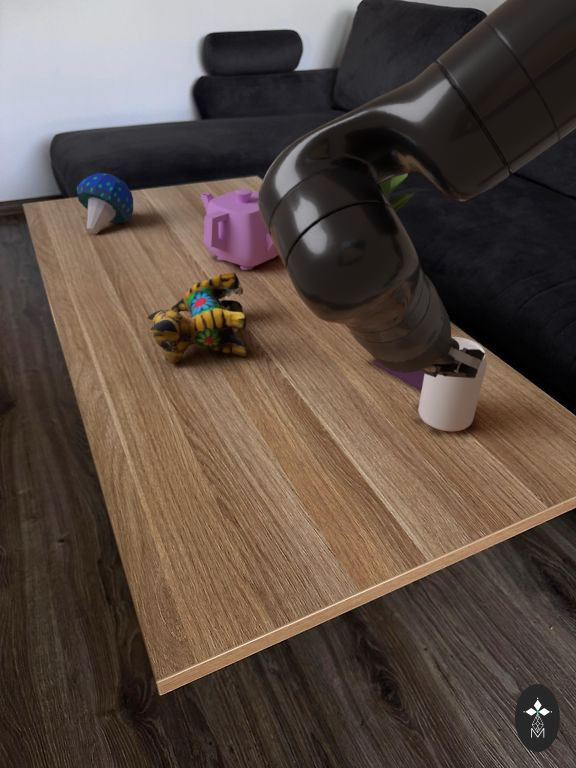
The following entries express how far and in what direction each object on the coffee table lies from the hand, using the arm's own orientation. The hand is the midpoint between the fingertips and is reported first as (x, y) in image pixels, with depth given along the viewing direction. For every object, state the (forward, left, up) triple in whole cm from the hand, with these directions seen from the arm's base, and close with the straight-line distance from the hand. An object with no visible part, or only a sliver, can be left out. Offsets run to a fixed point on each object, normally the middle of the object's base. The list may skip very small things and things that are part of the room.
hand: (433, 366), depth 65 cm
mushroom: (+107, -15, -20) cm, 110 cm away
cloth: (+17, -24, -20) cm, 35 cm away
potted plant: (+35, -30, -20) cm, 50 cm away
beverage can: (+6, -16, -20) cm, 27 cm away
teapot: (+70, -29, -20) cm, 78 cm away
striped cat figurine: (+48, -1, -20) cm, 52 cm away
